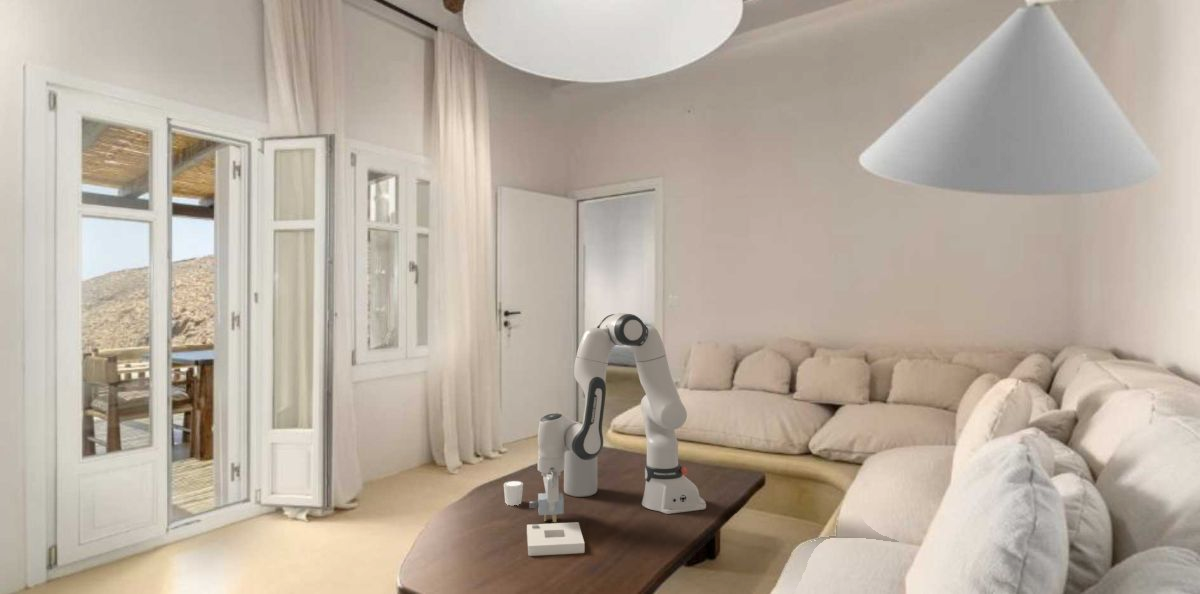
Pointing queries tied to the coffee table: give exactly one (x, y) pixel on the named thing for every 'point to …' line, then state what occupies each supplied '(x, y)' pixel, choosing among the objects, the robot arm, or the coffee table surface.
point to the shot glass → (513, 492)
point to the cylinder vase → (580, 475)
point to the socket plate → (554, 539)
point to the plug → (544, 506)
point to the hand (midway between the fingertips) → (550, 506)
